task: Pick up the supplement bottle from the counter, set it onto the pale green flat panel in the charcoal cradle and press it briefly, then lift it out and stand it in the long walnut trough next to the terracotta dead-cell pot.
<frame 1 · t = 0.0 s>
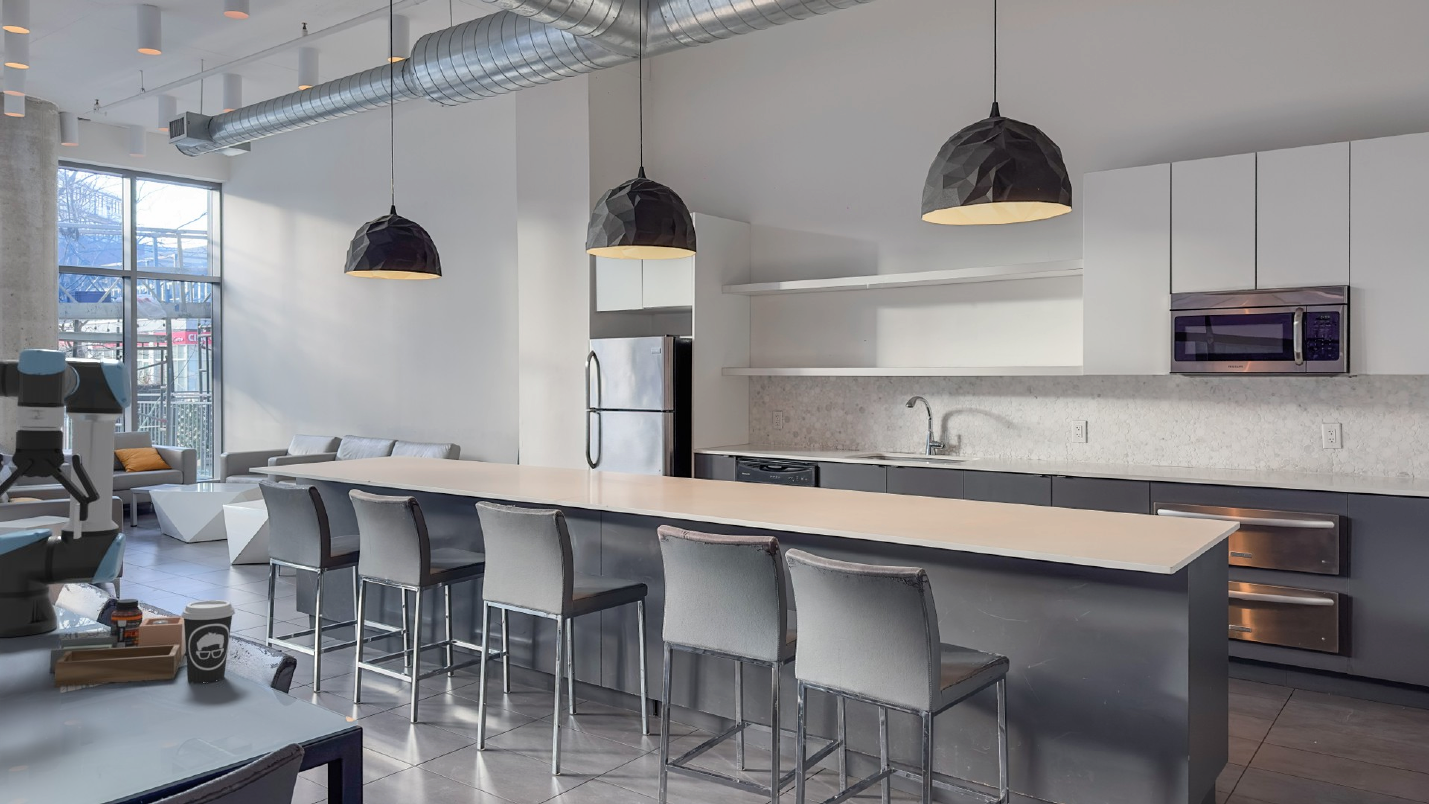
hand: (36, 538, 187), 28 cm above the table, fingers open, 13 cm apart
cradle base: (84, 664, 200), on the table
supplement bottle: (125, 653, 211), on the table
pale green flat panel: (84, 652, 200), point 3 cm above the table, slide at -0.1 cm
coffee cup: (206, 679, 193), on the table
trough: (119, 675, 193), on the table
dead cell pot: (162, 658, 207), on the table
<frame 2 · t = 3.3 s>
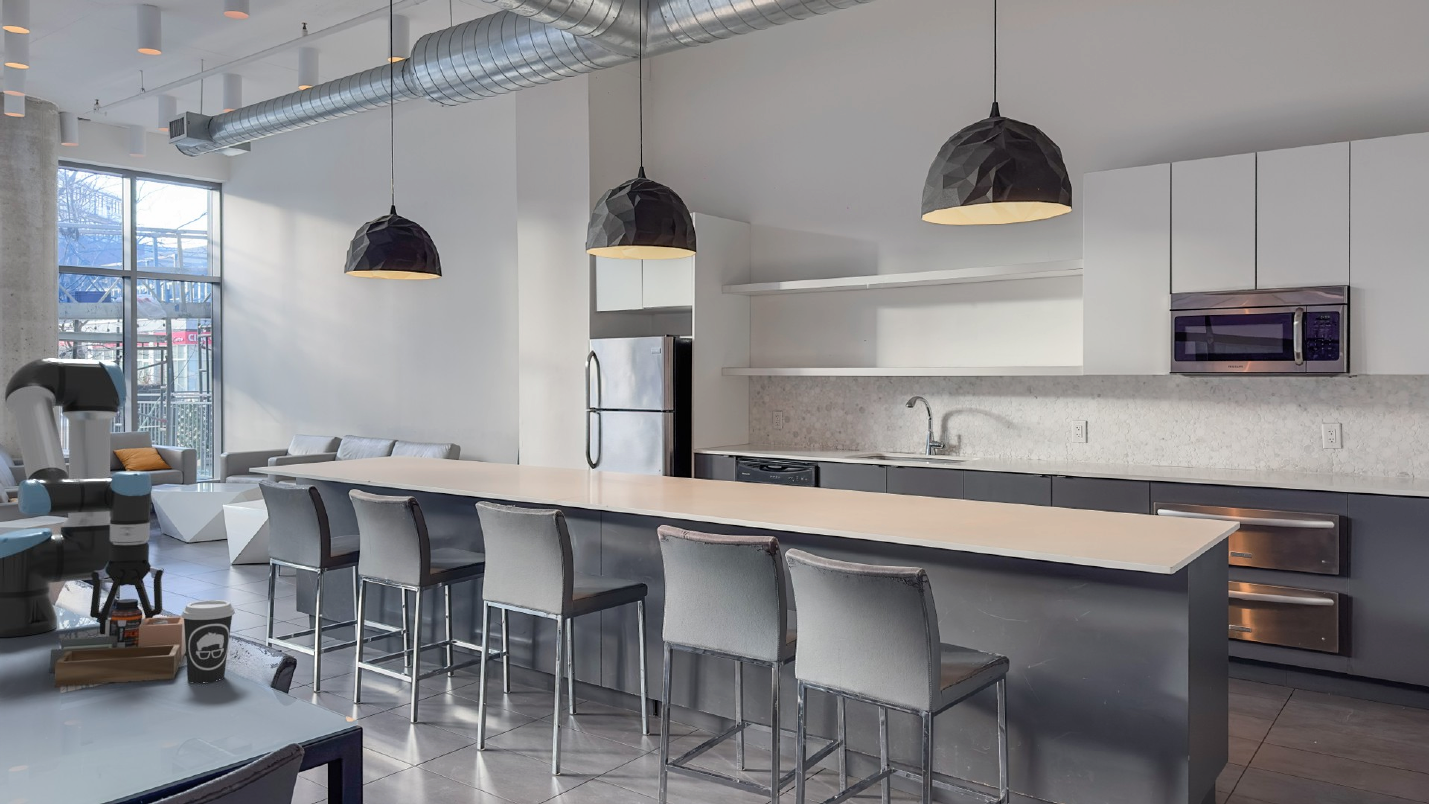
hand: (125, 647, 211), 1 cm above the table, fingers closed on supplement bottle, 6 cm apart
supplement bottle: (125, 652, 211), on the table, touching gripper
everything else where it was.
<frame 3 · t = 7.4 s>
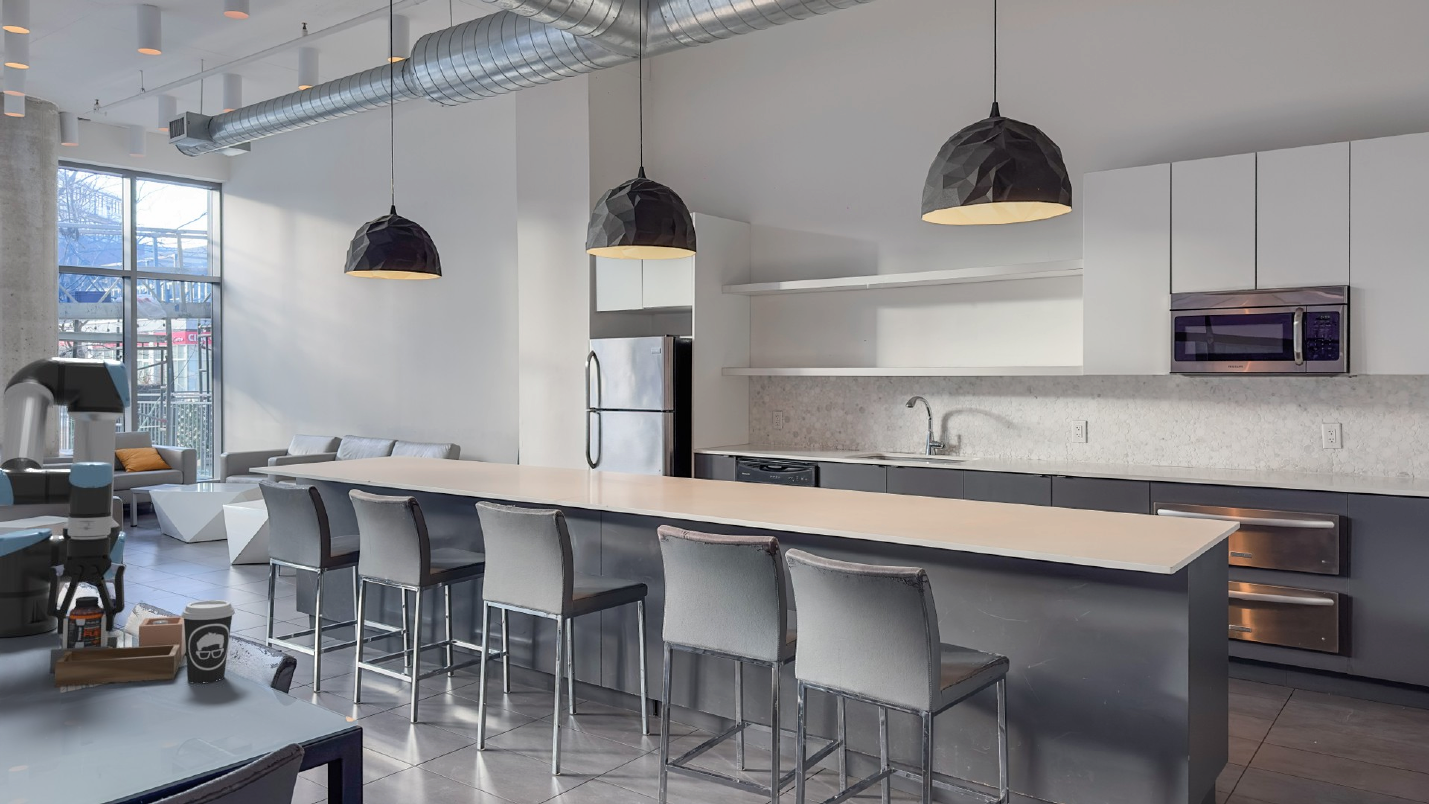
hand: (85, 647, 200), 4 cm above the table, fingers closed on supplement bottle, 6 cm apart
supplement bottle: (84, 653, 200), point 2 cm above the table, touching pale green flat panel, gripper
pale green flat panel: (84, 654, 200), point 2 cm above the table, slide at -0.6 cm, touching supplement bottle
everything else where it was.
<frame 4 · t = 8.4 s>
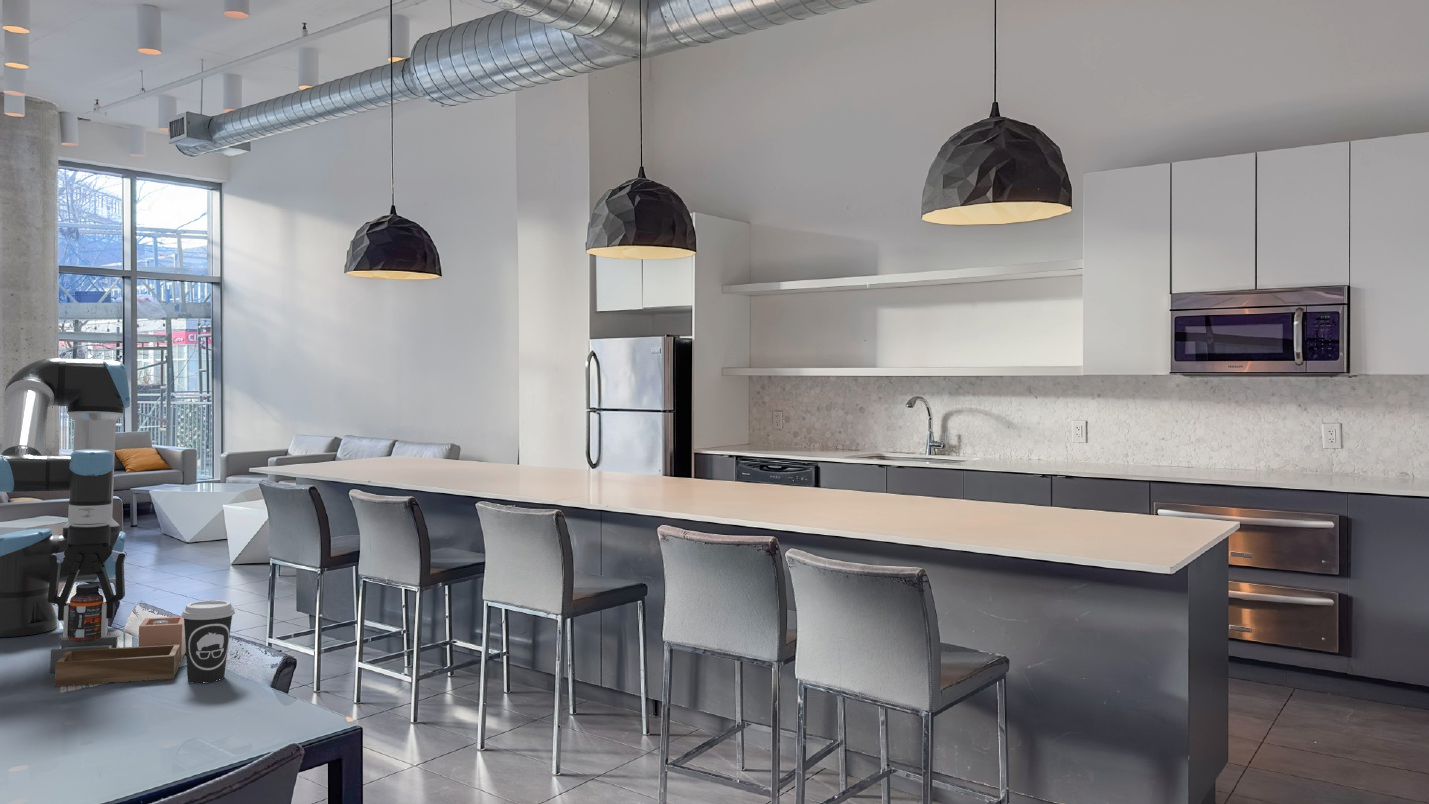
hand: (85, 634, 201), 6 cm above the table, fingers closed on supplement bottle, 6 cm apart
supplement bottle: (85, 640, 201), point 5 cm above the table, touching gripper
pale green flat panel: (84, 652, 200), point 2 cm above the table, slide at -0.3 cm
everything else where it was.
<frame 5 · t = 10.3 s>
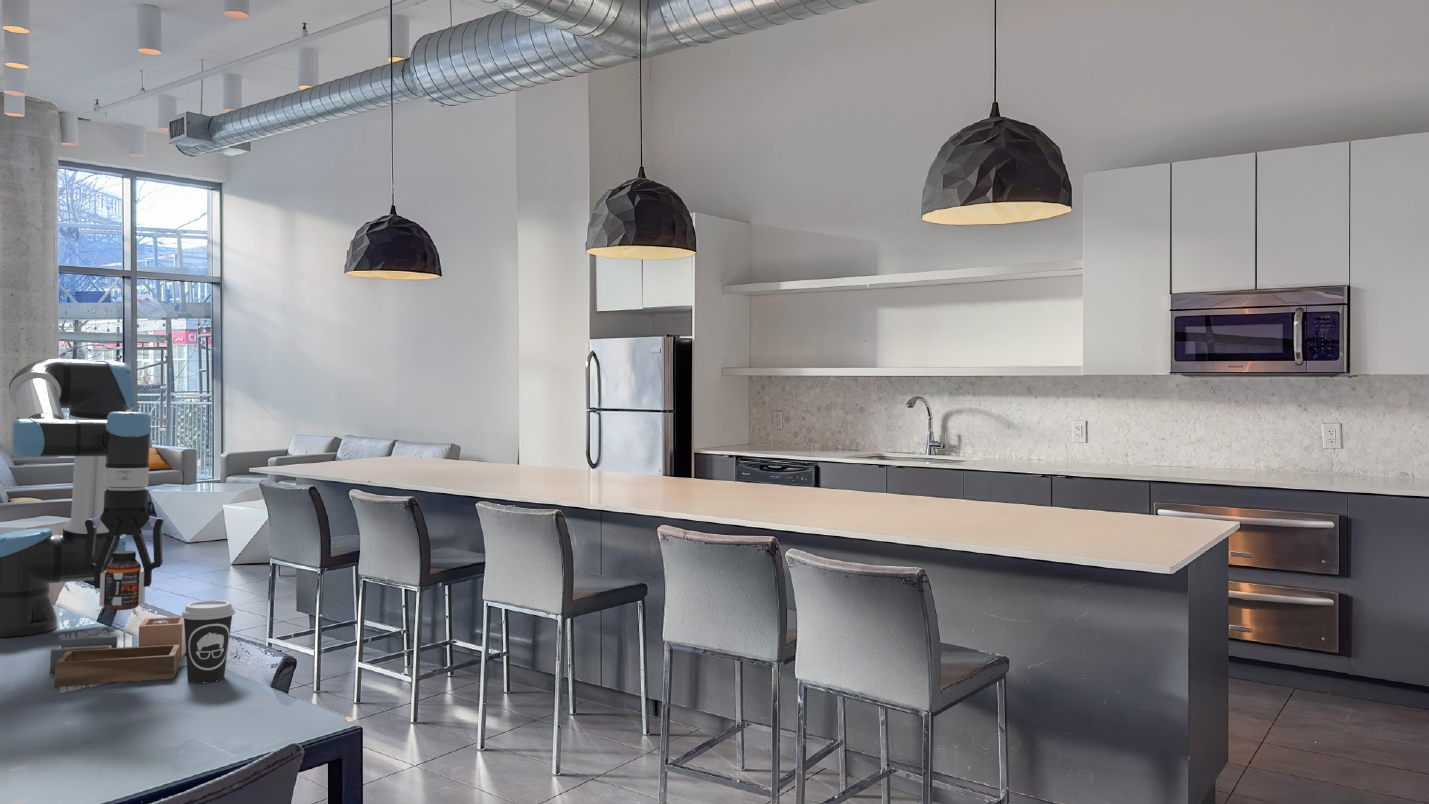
hand: (122, 603, 193), 15 cm above the table, fingers closed on supplement bottle, 6 cm apart
supplement bottle: (121, 609, 193), point 13 cm above the table, touching gripper
everything else where it was.
when the fingers open (3 cm above the table, at t = 12.2 s): supplement bottle drops 1 cm, resting on trough.
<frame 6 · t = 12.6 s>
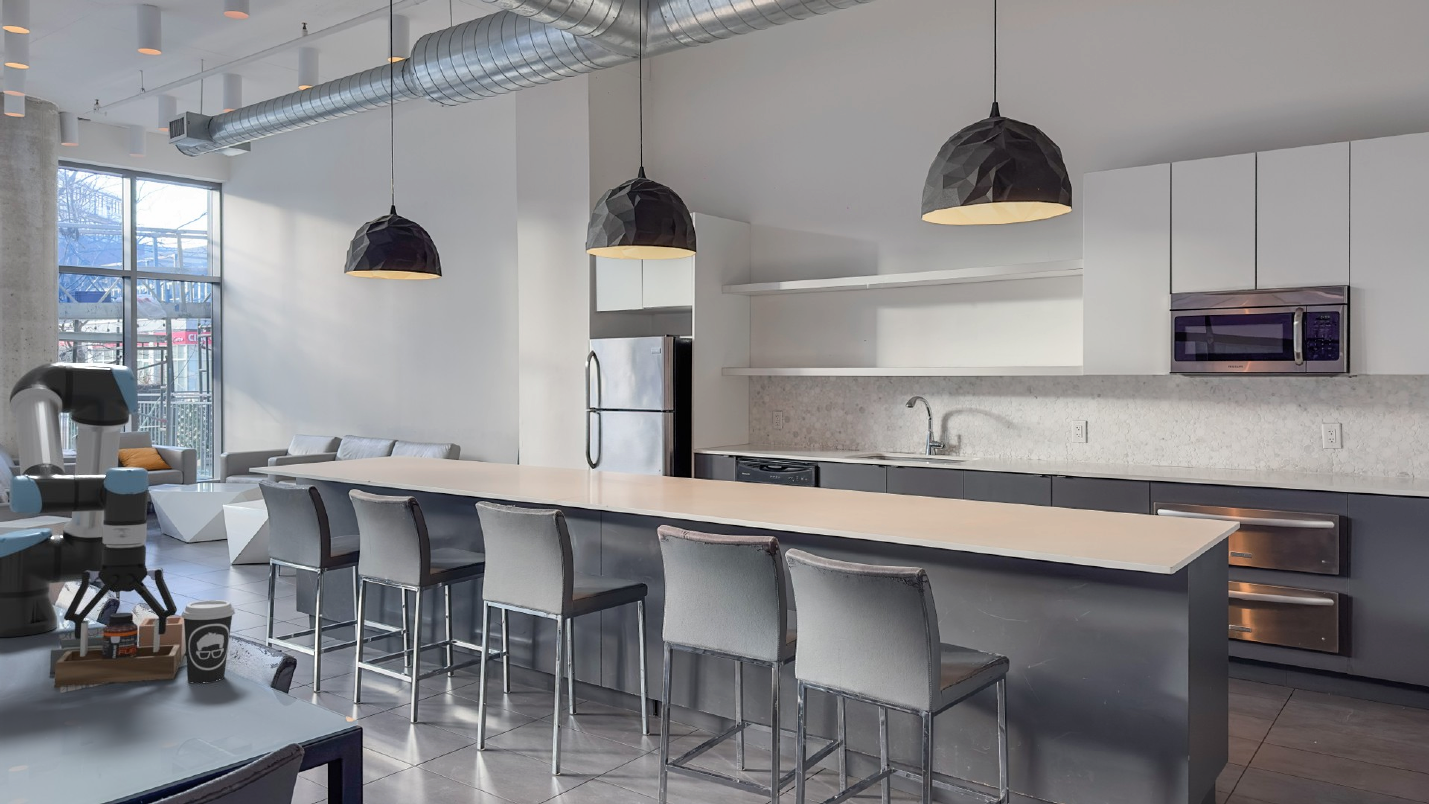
hand: (120, 652, 193), 5 cm above the table, fingers open, 12 cm apart
supplement bottle: (119, 671, 193), point 1 cm above the table, touching trough
everything else where it was.
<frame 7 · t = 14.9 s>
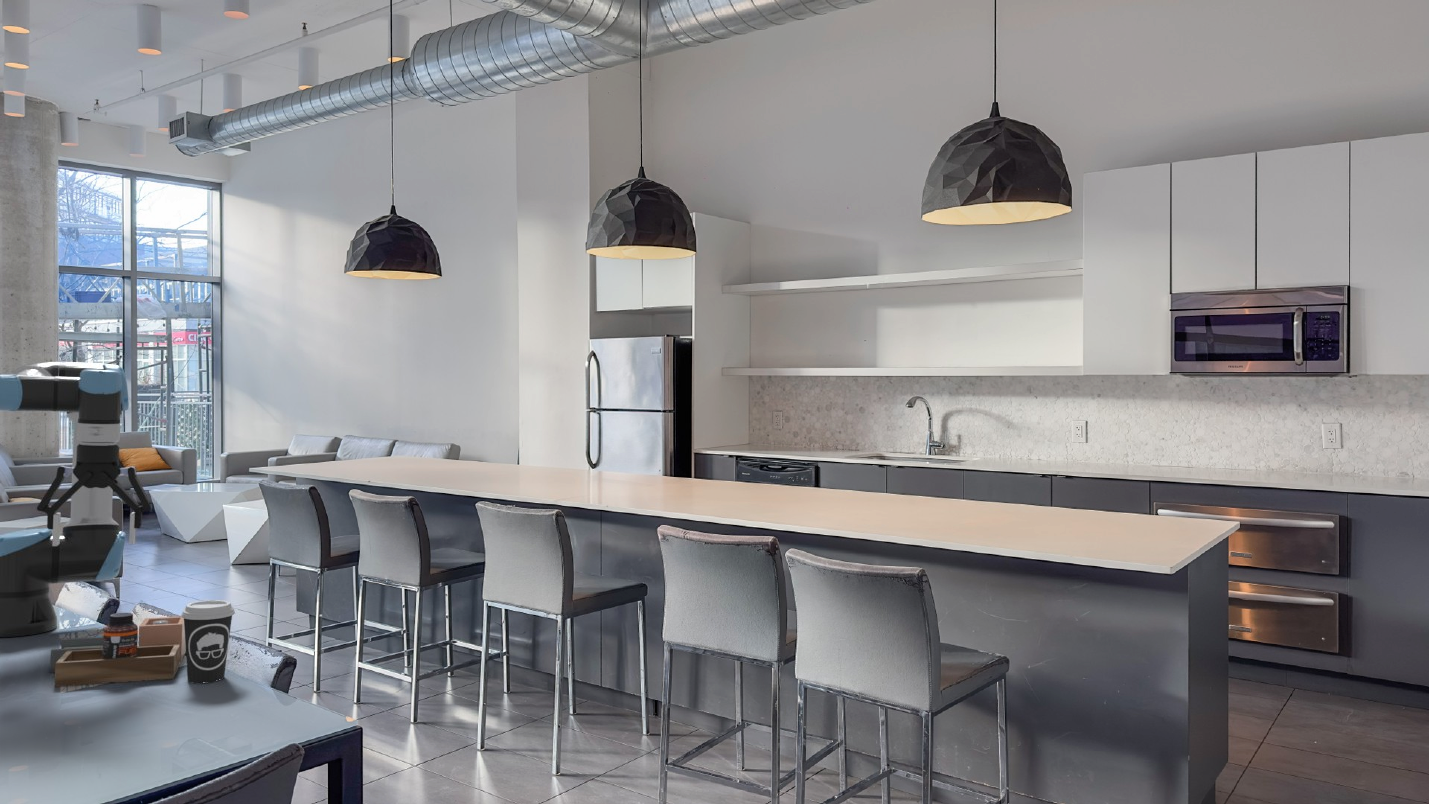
hand: (94, 544, 202), 25 cm above the table, fingers open, 13 cm apart
nothing on the table moved.
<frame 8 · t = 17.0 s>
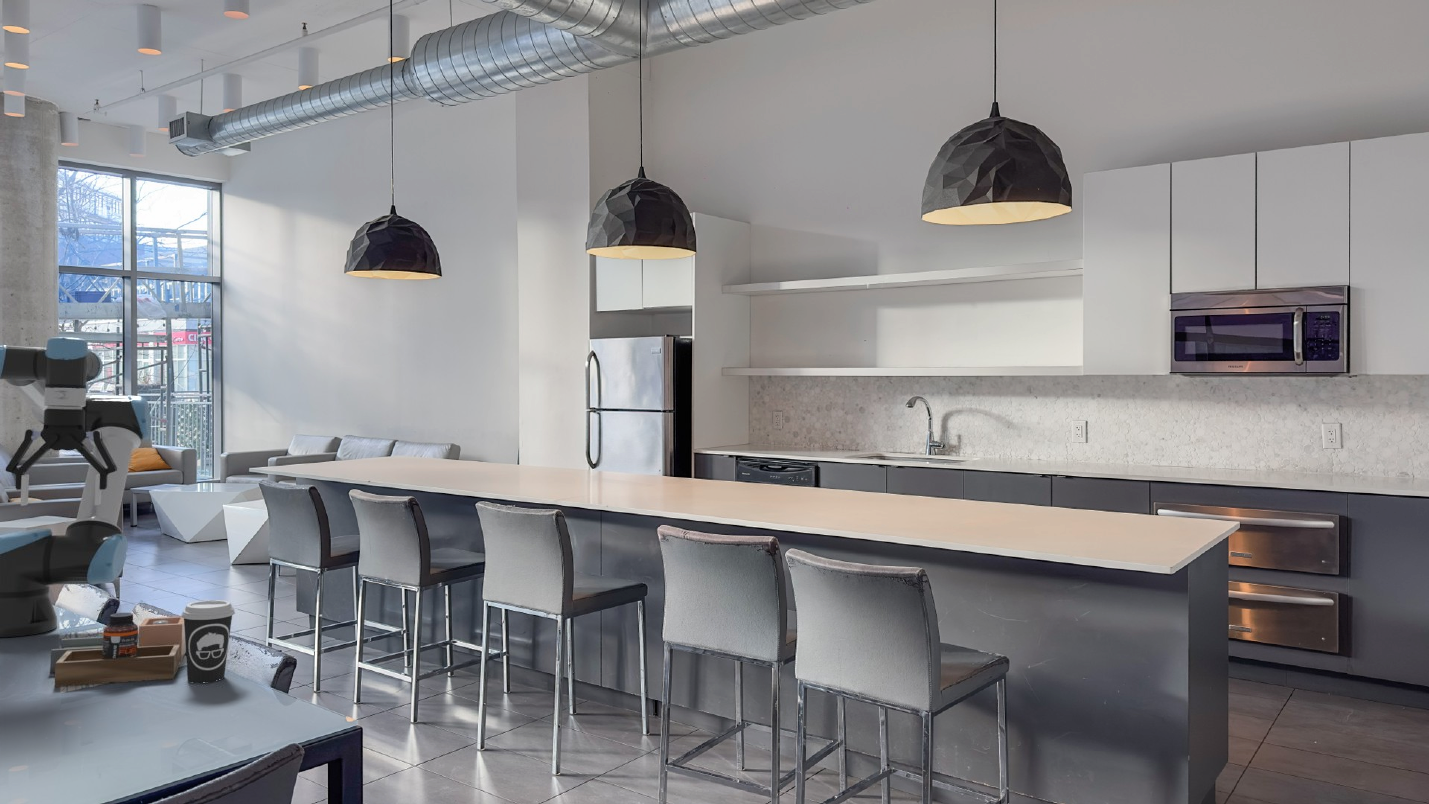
hand: (61, 504, 211), 32 cm above the table, fingers open, 13 cm apart
nothing on the table moved.
at the end: supplement bottle inside the target area on the trough (0.1 cm from its centre), point 0.8 cm above the trough's base; supplement bottle tilted 0°; the gripper is holding nothing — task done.
